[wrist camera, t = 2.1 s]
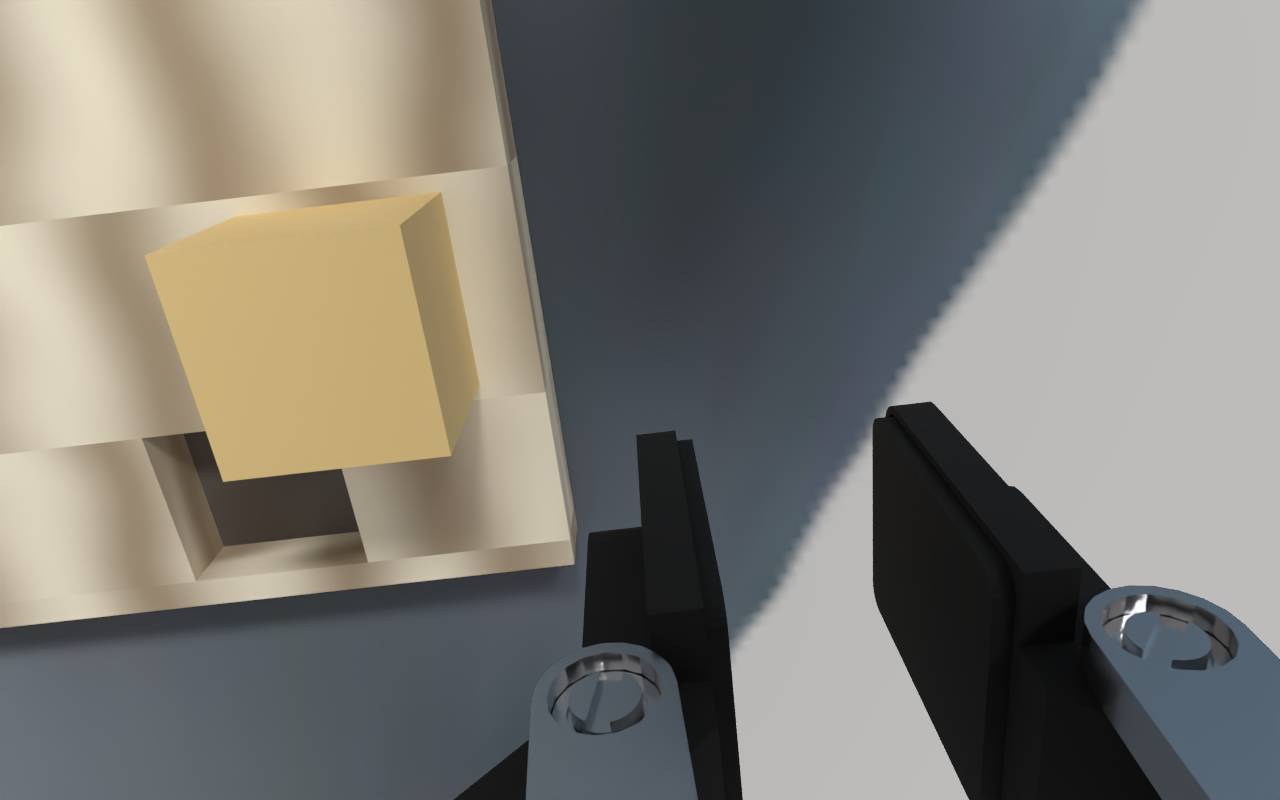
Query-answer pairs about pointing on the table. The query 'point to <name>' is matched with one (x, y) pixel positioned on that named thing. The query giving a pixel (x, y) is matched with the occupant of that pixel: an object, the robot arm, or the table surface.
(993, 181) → the table surface
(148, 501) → the cream sorting tray
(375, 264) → the ochre block
